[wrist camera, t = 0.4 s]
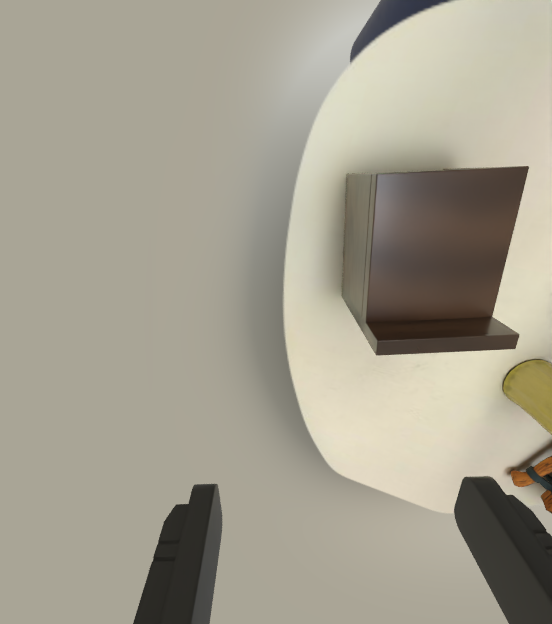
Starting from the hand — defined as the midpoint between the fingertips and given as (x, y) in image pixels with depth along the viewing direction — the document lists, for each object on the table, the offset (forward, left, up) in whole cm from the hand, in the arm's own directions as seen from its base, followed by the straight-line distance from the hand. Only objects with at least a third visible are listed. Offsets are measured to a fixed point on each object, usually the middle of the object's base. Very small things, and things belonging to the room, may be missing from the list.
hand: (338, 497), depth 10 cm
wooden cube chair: (-4, +10, -24) cm, 27 cm away
